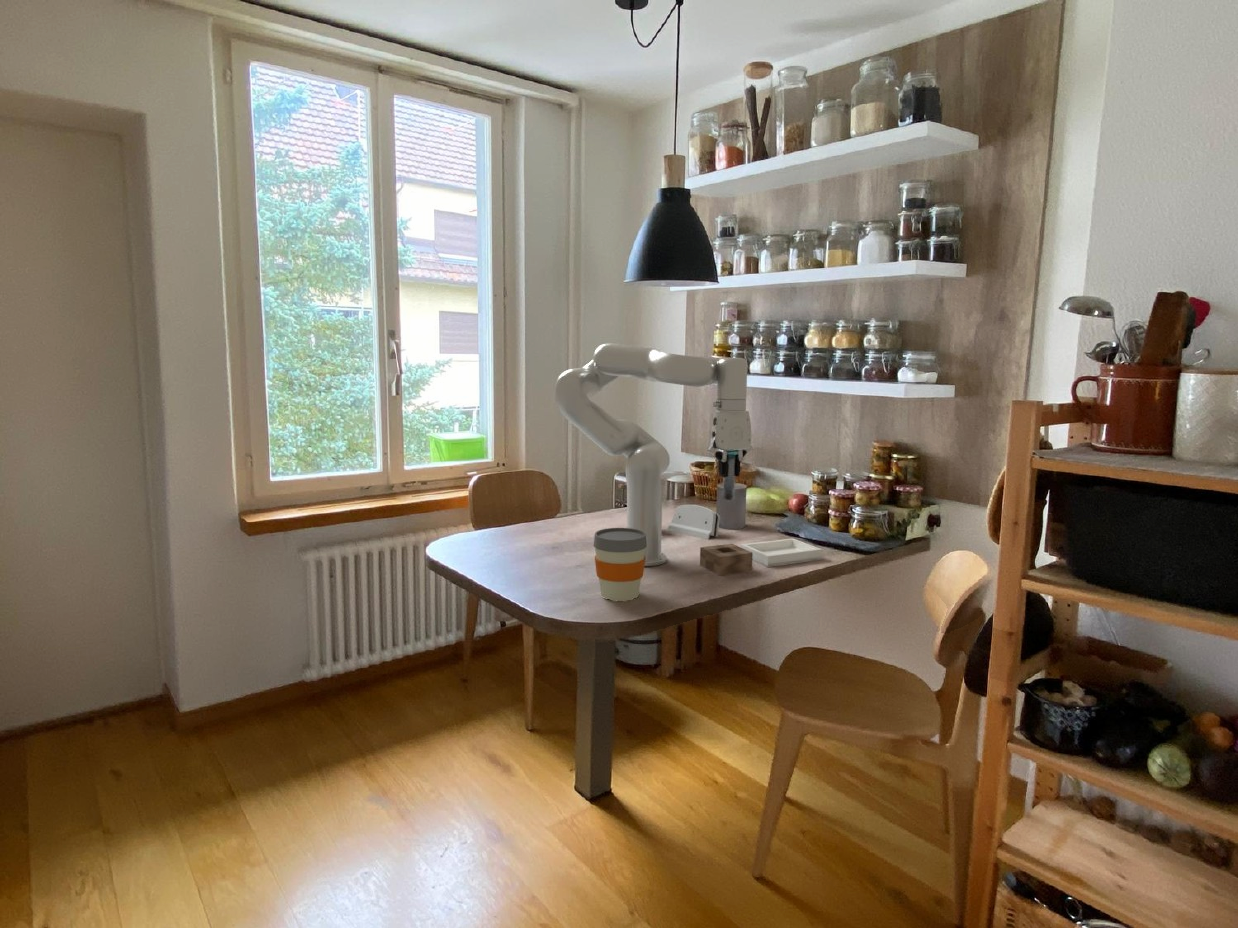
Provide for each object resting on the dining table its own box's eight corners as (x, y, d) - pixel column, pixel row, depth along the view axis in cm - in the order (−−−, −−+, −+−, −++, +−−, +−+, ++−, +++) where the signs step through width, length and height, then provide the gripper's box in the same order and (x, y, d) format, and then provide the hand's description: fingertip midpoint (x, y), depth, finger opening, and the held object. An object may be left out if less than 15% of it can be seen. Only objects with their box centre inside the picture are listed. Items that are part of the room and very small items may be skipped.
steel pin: (725, 500, 194) (727, 452, 192) (716, 497, 198) (717, 449, 196) (740, 499, 196) (742, 451, 194) (731, 496, 200) (732, 448, 198)
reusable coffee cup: (617, 583, 186) (617, 524, 184) (656, 594, 178) (657, 533, 176) (582, 595, 177) (582, 534, 175) (622, 608, 169) (622, 543, 167)
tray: (767, 566, 201) (767, 556, 201) (740, 554, 213) (741, 544, 212) (821, 559, 208) (821, 549, 208) (792, 548, 220) (793, 538, 220)
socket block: (719, 575, 193) (719, 556, 193) (699, 565, 202) (700, 547, 202) (751, 571, 197) (752, 552, 197) (731, 561, 206) (731, 543, 206)
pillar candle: (712, 522, 251) (714, 478, 249) (741, 522, 252) (742, 478, 250) (719, 530, 242) (720, 484, 239) (749, 529, 243) (750, 484, 240)
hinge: (666, 530, 240) (673, 500, 241) (674, 532, 244) (681, 502, 245) (708, 539, 229) (716, 507, 230) (717, 541, 233) (724, 510, 234)
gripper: (711, 407, 187) (709, 480, 189) (766, 406, 193) (763, 476, 196) (696, 405, 193) (694, 475, 196) (749, 404, 200) (747, 471, 203)
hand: (729, 475), depth 196 cm, fingers closed on steel pin, 3 cm apart
